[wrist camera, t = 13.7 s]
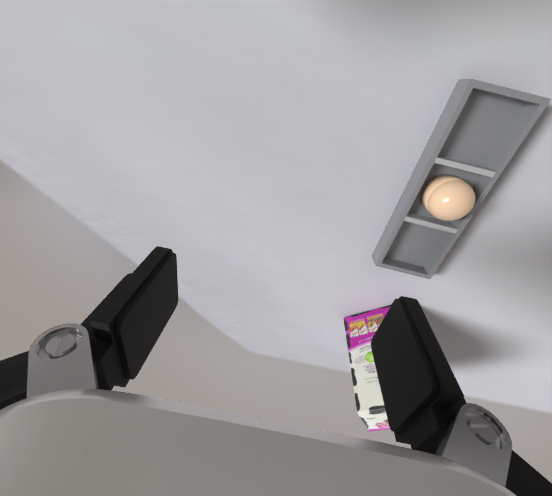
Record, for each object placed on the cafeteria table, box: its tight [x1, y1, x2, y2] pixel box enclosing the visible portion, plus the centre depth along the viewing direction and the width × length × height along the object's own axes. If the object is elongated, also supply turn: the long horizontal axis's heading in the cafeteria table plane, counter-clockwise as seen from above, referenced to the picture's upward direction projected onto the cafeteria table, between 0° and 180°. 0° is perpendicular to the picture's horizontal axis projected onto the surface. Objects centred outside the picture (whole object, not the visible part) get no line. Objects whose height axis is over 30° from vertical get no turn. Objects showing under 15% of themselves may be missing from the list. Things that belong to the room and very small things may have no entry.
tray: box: [372, 79, 551, 279], centre depth 33 cm, size 23×8×3 cm, turn 167°
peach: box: [420, 174, 475, 221], centre depth 31 cm, size 5×5×5 cm
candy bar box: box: [344, 305, 391, 432], centre depth 39 cm, size 11×5×16 cm, turn 117°
